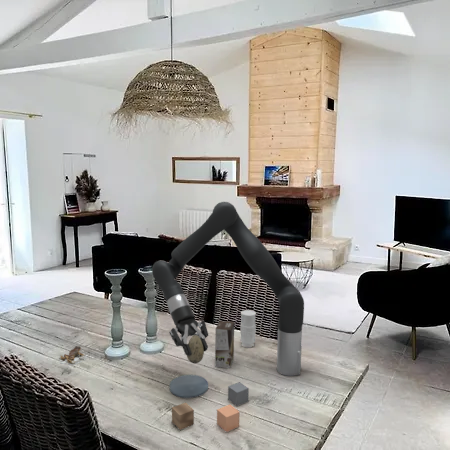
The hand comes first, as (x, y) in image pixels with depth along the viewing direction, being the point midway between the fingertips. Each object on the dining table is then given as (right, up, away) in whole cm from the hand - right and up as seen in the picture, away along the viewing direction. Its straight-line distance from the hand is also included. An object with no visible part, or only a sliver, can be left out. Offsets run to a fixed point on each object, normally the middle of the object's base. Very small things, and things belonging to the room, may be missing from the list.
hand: (197, 352), depth 144 cm
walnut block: (-4, -18, -12) cm, 23 cm away
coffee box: (+9, -13, +28) cm, 32 cm away
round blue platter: (-4, -15, +9) cm, 18 cm away
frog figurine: (-54, -12, +31) cm, 64 cm away
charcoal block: (+14, -17, +1) cm, 22 cm away
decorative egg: (-1, -4, +2) cm, 5 cm away
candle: (+20, -10, +45) cm, 50 cm away
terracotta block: (+10, -19, -13) cm, 25 cm away
